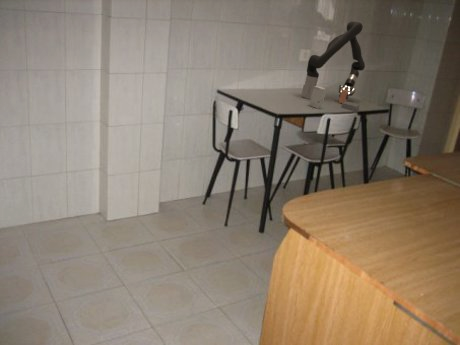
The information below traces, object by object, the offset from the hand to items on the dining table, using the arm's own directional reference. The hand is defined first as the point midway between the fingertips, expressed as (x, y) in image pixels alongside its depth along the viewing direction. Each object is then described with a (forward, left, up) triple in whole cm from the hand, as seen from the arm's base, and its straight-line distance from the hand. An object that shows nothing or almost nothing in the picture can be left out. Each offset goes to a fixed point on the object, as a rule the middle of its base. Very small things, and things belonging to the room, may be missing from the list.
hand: (343, 97), depth 371 cm
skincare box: (-37, -6, -5) cm, 38 cm away
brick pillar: (+2, +1, -4) cm, 5 cm away
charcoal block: (-4, -12, -5) cm, 14 cm away
